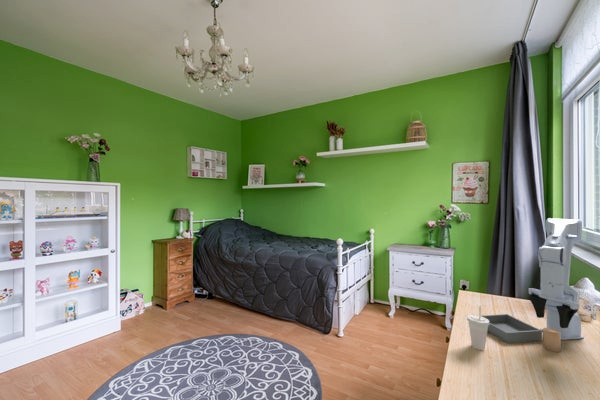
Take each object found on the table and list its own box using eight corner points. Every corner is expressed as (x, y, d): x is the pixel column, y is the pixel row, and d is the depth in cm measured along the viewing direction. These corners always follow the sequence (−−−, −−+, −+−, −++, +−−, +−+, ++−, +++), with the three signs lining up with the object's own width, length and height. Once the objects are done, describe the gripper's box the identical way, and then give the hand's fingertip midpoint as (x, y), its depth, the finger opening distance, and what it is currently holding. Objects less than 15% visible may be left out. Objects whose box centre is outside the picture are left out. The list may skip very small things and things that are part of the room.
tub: (507, 322, 111) (507, 314, 111) (541, 340, 97) (541, 330, 97) (476, 324, 109) (476, 315, 109) (506, 343, 95) (506, 333, 95)
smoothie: (493, 353, 89) (493, 310, 89) (471, 351, 90) (471, 309, 90) (484, 343, 95) (484, 303, 95) (464, 341, 96) (464, 301, 96)
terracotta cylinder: (550, 344, 94) (550, 327, 94) (564, 351, 90) (564, 333, 90) (539, 345, 93) (539, 328, 93) (552, 352, 89) (552, 334, 89)
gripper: (521, 276, 98) (521, 313, 98) (565, 289, 84) (565, 333, 84) (538, 275, 99) (538, 312, 99) (584, 288, 85) (584, 332, 85)
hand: (551, 322), depth 91 cm, fingers open, 7 cm apart
